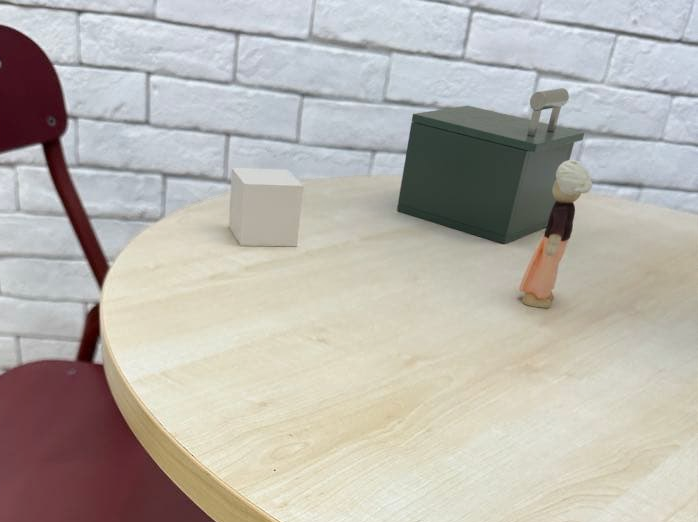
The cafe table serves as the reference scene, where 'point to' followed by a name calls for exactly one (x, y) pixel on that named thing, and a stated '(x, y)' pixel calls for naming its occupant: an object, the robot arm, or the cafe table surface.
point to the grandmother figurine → (555, 234)
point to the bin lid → (508, 123)
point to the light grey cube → (265, 207)
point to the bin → (478, 183)
